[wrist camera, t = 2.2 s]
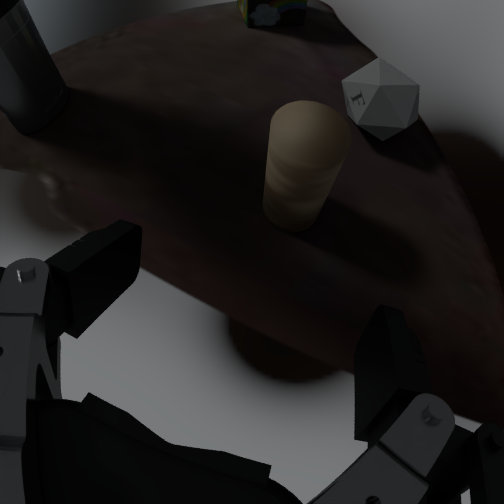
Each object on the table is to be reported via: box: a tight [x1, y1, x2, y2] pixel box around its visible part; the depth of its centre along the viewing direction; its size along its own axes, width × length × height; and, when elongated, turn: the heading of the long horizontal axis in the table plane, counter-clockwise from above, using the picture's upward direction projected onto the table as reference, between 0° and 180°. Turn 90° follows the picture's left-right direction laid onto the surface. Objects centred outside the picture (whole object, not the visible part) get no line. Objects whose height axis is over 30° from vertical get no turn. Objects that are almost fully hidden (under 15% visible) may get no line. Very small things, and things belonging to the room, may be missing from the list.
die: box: [342, 57, 419, 141], centre depth 29 cm, size 8×9×10 cm
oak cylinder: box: [263, 101, 352, 232], centre depth 24 cm, size 5×5×11 cm
